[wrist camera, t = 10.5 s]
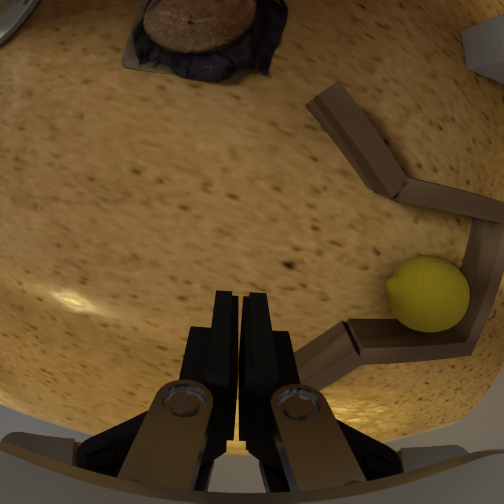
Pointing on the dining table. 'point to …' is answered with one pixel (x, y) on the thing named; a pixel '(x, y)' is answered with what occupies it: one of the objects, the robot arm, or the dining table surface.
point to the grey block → (486, 48)
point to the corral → (414, 193)
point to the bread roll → (205, 37)
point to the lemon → (428, 294)
